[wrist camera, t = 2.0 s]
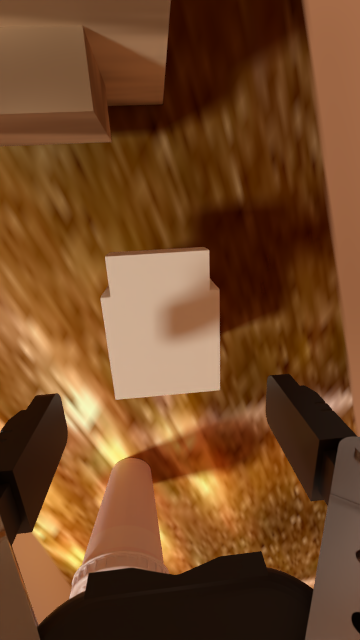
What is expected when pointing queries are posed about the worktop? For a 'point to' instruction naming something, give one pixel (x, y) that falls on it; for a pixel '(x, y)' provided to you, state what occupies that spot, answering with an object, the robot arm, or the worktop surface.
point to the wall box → (162, 322)
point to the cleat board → (77, 66)
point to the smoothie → (124, 526)
